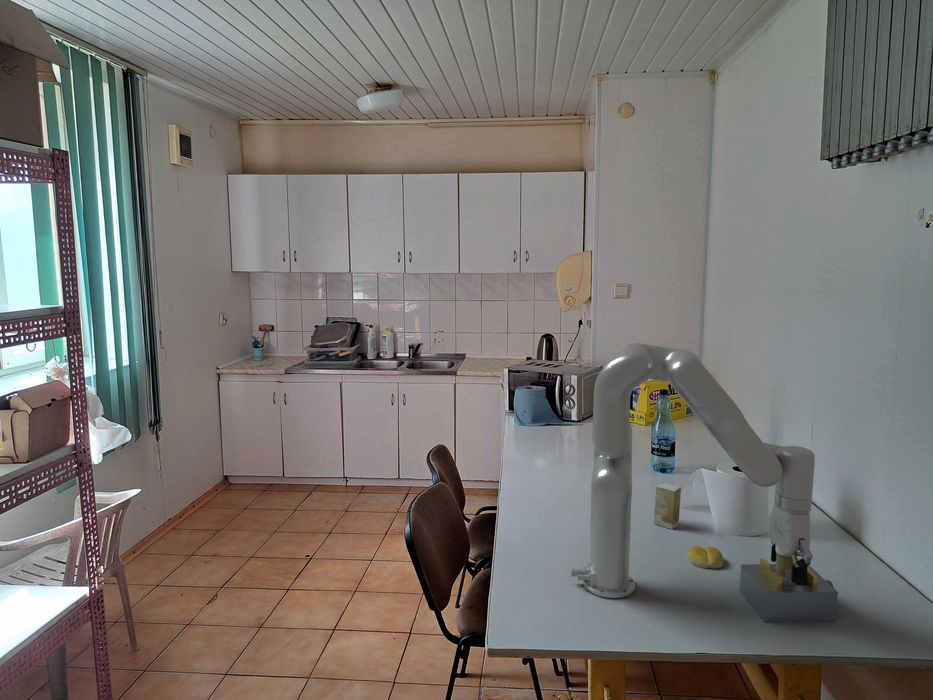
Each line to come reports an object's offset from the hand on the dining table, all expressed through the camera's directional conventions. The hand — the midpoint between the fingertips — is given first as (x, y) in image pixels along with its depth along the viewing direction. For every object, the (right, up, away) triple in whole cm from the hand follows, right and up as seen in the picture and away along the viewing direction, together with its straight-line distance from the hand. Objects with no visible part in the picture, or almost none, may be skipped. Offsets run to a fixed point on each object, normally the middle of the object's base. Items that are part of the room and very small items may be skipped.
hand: (787, 571), depth 151 cm
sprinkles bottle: (0, -7, +1) cm, 7 cm away
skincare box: (-14, -2, +46) cm, 48 cm away
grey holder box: (0, -8, +1) cm, 8 cm away
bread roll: (-11, -6, +23) cm, 26 cm away
